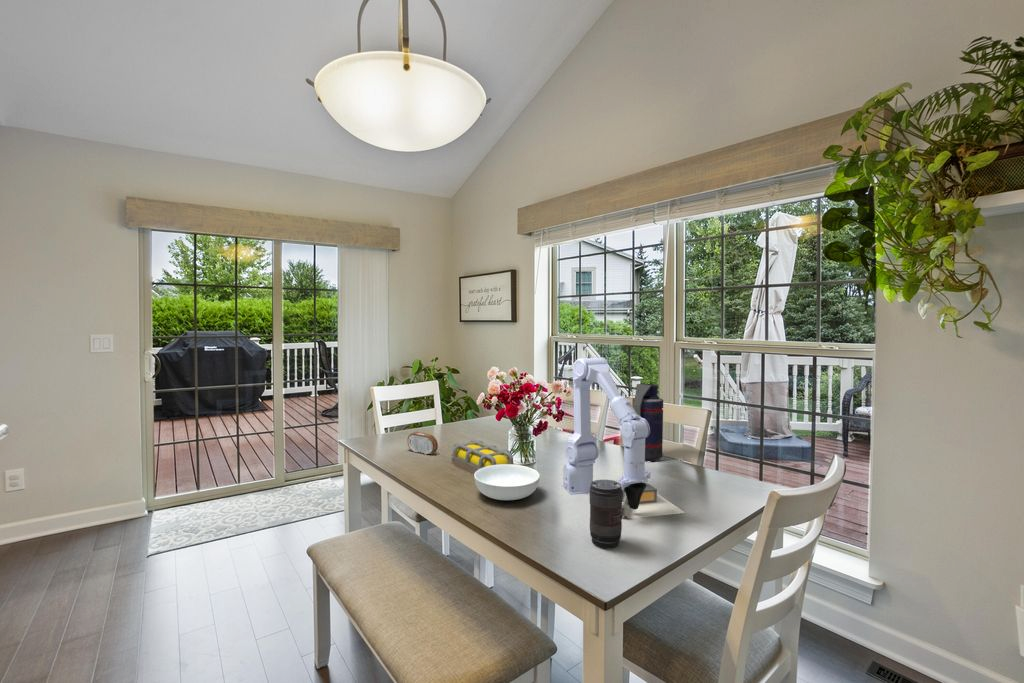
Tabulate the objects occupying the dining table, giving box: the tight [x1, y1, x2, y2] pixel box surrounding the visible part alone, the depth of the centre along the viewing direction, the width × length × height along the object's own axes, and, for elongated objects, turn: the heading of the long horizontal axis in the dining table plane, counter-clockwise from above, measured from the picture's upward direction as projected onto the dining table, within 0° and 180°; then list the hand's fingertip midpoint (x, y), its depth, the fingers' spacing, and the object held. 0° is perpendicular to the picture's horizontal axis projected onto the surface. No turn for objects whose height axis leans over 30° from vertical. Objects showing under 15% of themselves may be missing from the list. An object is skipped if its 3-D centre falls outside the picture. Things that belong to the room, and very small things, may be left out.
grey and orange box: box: [622, 482, 658, 505], centre depth 148 cm, size 11×6×5 cm, turn 103°
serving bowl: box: [473, 464, 541, 501], centre depth 153 cm, size 21×21×7 cm
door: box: [621, 493, 628, 519], centre depth 139 cm, size 10×1×4 cm, turn 161°
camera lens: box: [589, 479, 623, 550], centre depth 120 cm, size 8×8×15 cm
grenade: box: [631, 383, 664, 462], centre depth 192 cm, size 14×12×30 cm
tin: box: [407, 431, 439, 455], centre depth 199 cm, size 15×3×8 cm, turn 58°
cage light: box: [451, 439, 515, 476], centre depth 180 cm, size 15×8×30 cm
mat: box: [624, 493, 686, 519], centre depth 144 cm, size 18×16×1 cm
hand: (633, 508), depth 137 cm, fingers closed
